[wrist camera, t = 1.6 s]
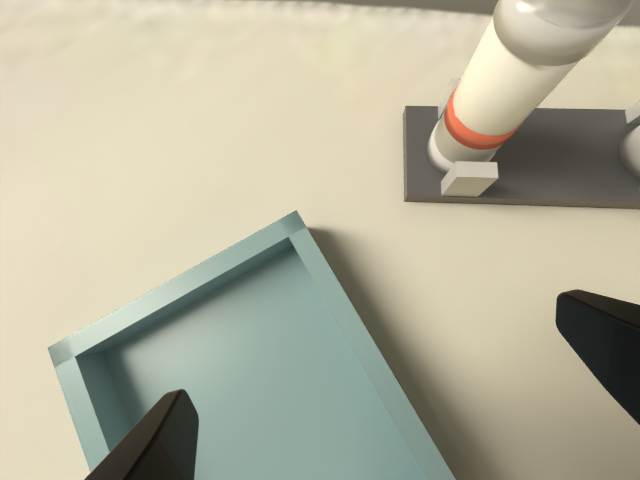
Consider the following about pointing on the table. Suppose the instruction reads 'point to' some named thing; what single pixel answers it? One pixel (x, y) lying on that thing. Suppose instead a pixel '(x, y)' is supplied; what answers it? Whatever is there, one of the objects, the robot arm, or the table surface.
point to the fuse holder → (529, 161)
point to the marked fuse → (517, 72)
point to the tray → (251, 370)
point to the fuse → (631, 151)
